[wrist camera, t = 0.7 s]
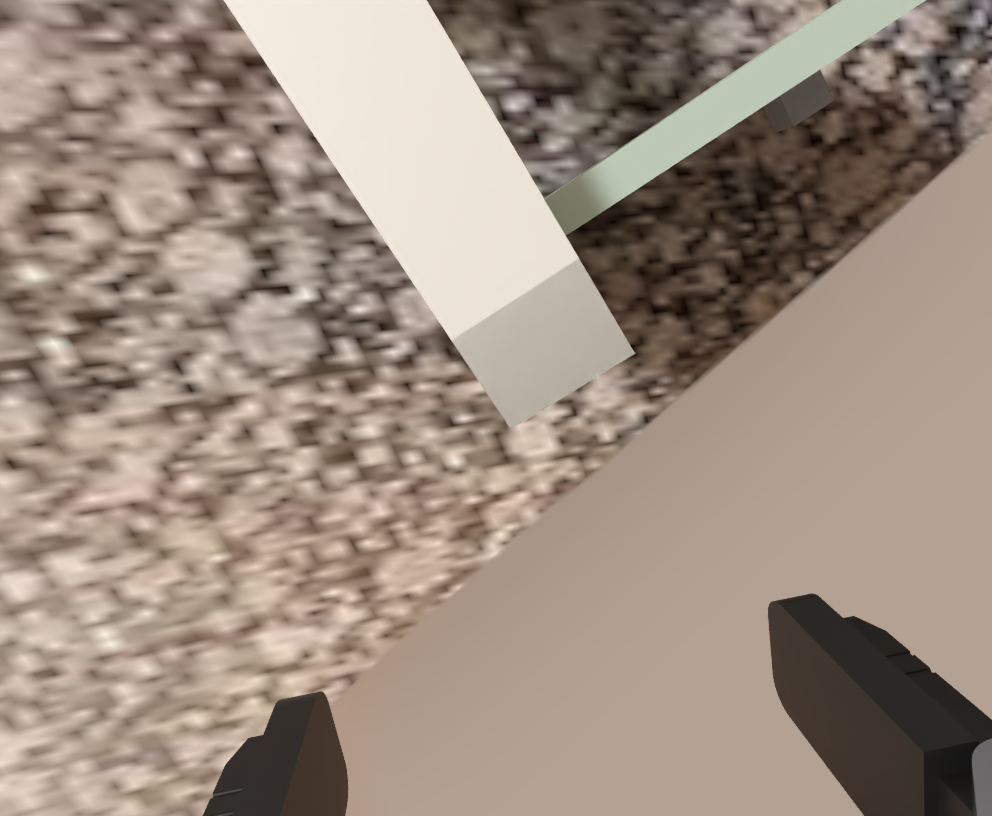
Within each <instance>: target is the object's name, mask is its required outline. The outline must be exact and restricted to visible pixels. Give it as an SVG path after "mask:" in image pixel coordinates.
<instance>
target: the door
mask: <svg viewBox="0 0 992 816" xmlns="http://www.w3.org/2000/svg"><path fill="white" fill-rule="evenodd" d="M924 1H925V0H841V1H840V2H838V3H837V4H835V5H834V6H832V7H831V8H829V9H828V10H826V11H825V12H823V13H822V14H820V15H819V16H817V17H816V18H814V19H813V20H811V21H810V22H808V23H807V24H805V25H804V26H802V27H801V28H799V29H798V30H796V31H794V32H793V33H791V34H790V35H788V36H787V37H785V38H784V39H782V40H781V41H779V42H778V43H776V44H775V45H773V46H772V47H770V48H769V49H767V50H766V51H764V52H763V53H761V54H760V55H758V56H757V57H755V58H754V59H752V60H751V61H749V62H748V63H746V64H745V65H743V66H742V67H740V68H739V69H737V70H736V71H734V72H733V73H731V74H730V75H728V76H727V77H725V78H724V79H722V80H721V81H719V82H718V83H716V84H715V85H713V86H712V87H710V88H709V89H707V90H706V91H704V92H703V93H701V94H700V95H698V96H697V97H695V98H694V99H692V100H691V101H689V102H688V103H686V104H685V105H683V106H682V107H680V108H679V109H677V110H676V111H674V112H673V113H671V114H670V115H668V116H667V117H665V118H664V119H662V120H661V121H659V122H658V123H656V124H655V125H653V126H652V127H650V128H649V129H647V130H646V131H644V132H643V133H642V134H640V135H639V136H637V137H636V138H634V139H633V140H631V141H630V142H628V143H627V144H625V145H624V146H622V147H621V148H619V149H618V150H616V151H615V152H613V153H612V154H610V155H609V156H607V157H606V158H604V159H603V160H601V161H600V162H598V163H597V164H595V165H594V166H592V167H591V168H589V169H588V170H586V171H585V172H583V173H582V174H580V175H579V176H577V177H576V178H574V179H573V180H571V181H570V182H568V183H567V184H565V185H564V186H562V187H561V188H559V189H558V190H556V191H555V192H553V193H552V194H550V195H549V196H547V197H546V198H544V200H545V202H546V203H547V205H548V207H549V208H550V210H551V212H552V213H553V215H554V217H555V219H556V220H557V222H558V224H559V225H560V227H561V229H562V230H563V232H564V234H565V235H568V234H569V233H571V232H572V231H574V230H575V229H577V228H578V227H580V226H582V225H583V224H585V223H586V222H588V221H589V220H591V219H592V218H594V217H595V216H597V215H598V214H600V213H601V212H603V211H604V210H606V209H608V208H609V207H611V206H612V205H614V204H615V203H617V202H618V201H620V200H621V199H623V198H624V197H626V196H627V195H629V194H630V193H632V192H634V191H635V190H637V189H638V188H640V187H641V186H643V185H644V184H646V183H647V182H649V181H650V180H652V179H653V178H655V177H656V176H658V175H659V174H661V173H663V172H664V171H666V170H667V169H669V168H670V167H672V166H673V165H675V164H676V163H678V162H679V161H681V160H682V159H684V158H685V157H687V156H689V155H690V154H692V153H693V152H695V151H696V150H698V149H699V148H701V147H702V146H704V145H705V144H707V143H708V142H710V141H711V140H713V139H715V138H716V137H718V136H719V135H721V134H722V133H724V132H725V131H727V130H728V129H730V128H731V127H733V126H734V125H736V124H737V123H739V122H741V121H742V120H744V119H745V118H747V117H748V116H750V115H751V114H753V113H754V112H756V111H757V110H759V109H760V108H762V107H763V109H764V111H765V113H766V115H767V117H768V119H769V121H770V124H771V126H772V128H773V130H774V132H775V133H776V132H779V131H782V130H785V129H788V128H791V127H794V126H795V125H797V124H799V123H800V122H802V121H803V120H805V119H806V118H808V117H809V116H811V115H813V114H814V113H816V112H817V111H819V110H820V109H822V108H823V107H825V106H827V105H828V104H830V103H831V102H833V101H834V100H833V98H832V95H831V93H830V91H829V89H828V86H827V84H826V82H825V80H824V77H823V75H822V73H821V71H820V69H822V68H823V67H825V66H826V65H828V64H829V63H831V62H832V61H834V60H835V59H837V58H838V57H840V56H841V55H843V54H844V53H846V52H848V51H849V50H851V49H852V48H854V47H855V46H857V45H858V44H860V43H861V42H863V41H864V40H866V39H867V38H869V37H870V36H872V35H874V34H875V33H877V32H878V31H880V30H881V29H883V28H884V27H886V26H887V25H889V24H890V23H892V22H893V21H895V20H896V19H898V18H899V17H901V16H903V15H904V14H906V13H907V12H909V11H910V10H912V9H913V8H915V7H916V6H918V5H919V4H921V3H922V2H924Z"/></svg>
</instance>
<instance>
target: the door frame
mask: <svg viewBox="0 0 992 816" xmlns="http://www.w3.org/2000/svg"><path fill="white" fill-rule="evenodd" d="M224 1H225V3H226V4H227V6H228V7H229V9H230V10H231V12H232V13H233V15H234V16H235V18H236V19H237V21H238V22H239V24H240V25H241V27H242V28H243V30H244V31H245V33H246V34H247V36H248V37H249V39H250V40H251V42H252V43H253V45H254V46H255V48H256V49H257V51H258V52H259V54H260V55H261V57H262V58H263V60H264V61H265V63H266V64H267V66H268V67H269V69H270V70H271V72H272V73H273V75H274V76H275V77H276V79H277V80H278V82H279V83H280V85H281V86H282V88H283V89H284V91H285V92H286V94H287V95H288V97H289V98H290V100H291V101H292V103H293V104H294V106H295V107H296V109H297V110H298V112H299V113H300V115H301V116H302V118H303V119H304V121H305V122H306V124H307V125H308V127H309V128H310V130H311V131H312V133H313V134H314V136H315V137H316V139H317V140H318V142H319V143H320V145H321V146H322V148H323V149H324V151H325V152H326V154H327V155H328V157H329V158H330V160H331V161H332V163H333V164H334V166H335V167H336V169H337V170H338V172H339V173H340V175H341V176H342V178H343V179H344V181H345V182H346V184H347V185H348V187H349V188H350V190H351V191H352V193H353V194H354V195H355V197H356V198H357V200H358V201H359V203H360V204H361V206H362V207H363V209H364V210H365V212H366V213H367V215H368V216H369V218H370V219H371V221H372V222H373V224H374V225H375V227H376V228H377V230H378V231H379V233H380V234H381V236H382V237H383V239H384V240H385V242H386V243H387V245H388V246H389V248H390V249H391V251H392V252H393V254H394V255H395V257H396V258H397V260H398V261H399V263H400V264H401V266H402V267H403V269H404V270H405V272H406V273H407V275H408V276H409V278H410V279H411V281H412V282H413V284H414V285H415V287H416V288H417V290H418V291H419V293H420V294H421V296H422V297H423V299H424V300H425V302H426V303H427V305H428V306H429V308H430V309H431V311H432V312H433V313H434V315H435V316H436V318H437V319H438V321H439V322H440V324H441V325H442V327H443V328H444V330H445V331H446V333H447V334H448V336H449V337H450V339H451V340H452V342H453V343H454V345H455V346H456V348H457V349H458V351H459V352H460V354H461V355H462V357H463V358H464V360H465V361H466V363H467V364H468V366H469V367H470V369H471V370H472V372H473V373H474V375H475V376H476V378H477V379H478V381H479V382H480V384H481V385H482V387H483V388H484V390H485V391H486V393H487V394H488V396H489V397H490V399H491V400H492V402H493V403H494V405H495V406H496V408H497V409H498V411H499V412H500V414H501V415H502V417H503V418H504V420H505V421H506V423H507V424H508V426H509V427H510V429H512V428H514V427H515V426H517V425H519V424H520V423H522V422H524V421H525V420H527V419H528V418H530V417H532V416H533V415H535V414H537V413H538V412H540V411H542V410H543V409H545V408H547V407H548V406H550V405H552V404H553V403H555V402H556V401H558V400H560V399H561V398H563V397H565V396H566V395H568V394H570V393H571V392H573V391H575V390H576V389H578V388H579V387H581V386H583V385H584V384H586V383H588V382H589V381H591V380H593V379H594V378H596V377H598V376H599V375H601V374H603V373H604V372H606V371H607V370H609V369H611V368H612V367H614V366H616V365H617V364H619V363H621V362H622V361H624V360H626V359H627V358H629V357H630V356H632V355H634V354H635V352H634V351H633V349H632V347H631V346H630V344H629V342H628V341H627V339H626V337H625V335H624V334H623V332H622V330H621V329H620V327H619V325H618V324H617V322H616V320H615V319H614V317H613V315H612V313H611V312H610V310H609V308H608V307H607V305H606V303H605V302H604V300H603V298H602V297H601V295H600V293H599V291H598V290H597V288H596V286H595V285H594V283H593V281H592V280H591V278H590V276H589V274H588V273H587V271H586V269H585V268H584V266H583V264H582V263H581V261H580V259H579V258H578V256H577V254H576V252H575V251H574V249H573V247H572V246H571V244H570V242H569V241H568V239H567V237H566V235H565V234H564V232H563V230H562V229H561V227H560V225H559V224H558V222H557V220H556V219H555V217H554V215H553V213H552V212H551V210H550V208H549V207H548V205H547V203H546V202H545V200H544V198H543V196H542V195H541V193H540V191H539V190H538V188H537V186H536V185H535V183H534V181H533V180H532V178H531V176H530V174H529V173H528V171H527V169H526V168H525V166H524V164H523V163H522V161H521V159H520V158H519V156H518V154H517V152H516V151H515V149H514V147H513V146H512V144H511V142H510V141H509V139H508V137H507V135H506V134H505V132H504V130H503V129H502V127H501V125H500V124H499V122H498V120H497V119H496V117H495V115H494V113H493V112H492V110H491V108H490V107H489V105H488V103H487V102H486V100H485V98H484V96H483V95H482V93H481V91H480V90H479V88H478V86H477V85H476V83H475V81H474V80H473V78H472V76H471V74H470V73H469V71H468V69H467V68H466V66H465V64H464V63H463V61H462V59H461V57H460V56H459V54H458V52H457V51H456V49H455V47H454V46H453V44H452V42H451V41H450V39H449V37H448V35H447V34H446V32H445V30H444V29H443V27H442V25H441V24H440V22H439V20H438V19H437V17H436V15H435V13H434V12H433V10H432V8H431V7H430V5H429V3H428V2H427V0H224Z"/></svg>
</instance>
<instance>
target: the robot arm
mask: <svg viewBox="0 0 992 816" xmlns="http://www.w3.org/2000/svg"><path fill="white" fill-rule="evenodd" d="M768 619H769V631H770V644H771V656H772V669H773V678H774V683H775V687H776V690H777V693H778V696H779V698H780V701H781V703H782V705H783V707H784V709H785V710H786V712H787V714H788V715H789V717H790V718H791V719H792V721H793V722H794V723H795V724H796V726H797V727H798V728H799V730H800V731H801V732H802V734H803V735H804V736H805V738H806V739H807V740H808V742H809V743H810V744H811V746H812V747H813V748H814V750H815V751H816V752H817V754H818V755H819V756H820V758H821V759H822V760H823V761H824V763H825V764H826V766H827V767H828V768H829V769H830V771H831V772H832V774H833V775H834V776H835V778H836V779H837V780H838V782H839V783H840V784H841V785H842V787H843V788H844V789H845V791H846V792H847V794H848V795H849V796H850V798H851V799H852V800H853V802H854V803H855V804H856V805H857V807H858V808H859V809H860V810H861V812H862V813H863V815H864V816H992V720H991V719H990V718H989V717H988V716H987V715H985V714H984V713H983V712H982V711H981V710H979V709H978V708H977V707H976V706H975V705H973V704H972V703H971V702H970V701H969V700H967V699H966V698H965V697H964V696H963V695H962V694H960V693H959V692H958V691H957V690H956V689H954V688H953V687H952V686H951V685H950V684H948V683H947V682H946V681H945V680H944V679H943V678H941V677H940V676H939V675H938V674H937V673H932V672H931V670H930V668H929V667H928V666H927V665H926V664H925V663H923V662H922V661H921V660H920V659H919V658H917V657H916V656H915V655H913V656H912V655H911V654H910V651H909V650H908V649H907V648H906V647H904V646H903V645H902V644H901V643H899V642H898V641H897V640H896V639H895V638H893V637H892V636H891V635H890V634H889V633H888V632H887V631H885V630H883V629H881V628H878V627H876V626H874V625H872V624H870V623H868V622H866V621H863V620H861V619H859V618H857V617H855V616H852V617H847V618H842V617H841V616H840V615H839V614H838V613H837V612H836V611H834V610H833V609H832V608H831V607H830V606H829V605H828V604H827V603H826V602H825V601H823V600H822V599H821V598H820V597H819V596H818V595H815V594H807V595H802V596H797V597H793V598H787V599H783V600H778V601H773V602H771V603H770V604H769V607H768ZM347 800H348V777H347V769H346V764H345V760H344V756H343V753H342V749H341V745H340V742H339V739H338V735H337V731H336V728H335V724H334V721H333V717H332V713H331V710H330V706H329V703H328V700H327V697H326V695H325V694H324V693H323V692H316V693H311V694H306V695H301V696H297V697H292V698H287V699H282V700H279V701H278V702H277V703H276V705H275V707H274V709H273V712H272V714H271V717H270V719H269V722H268V724H267V727H266V730H265V732H264V735H261V736H256V737H251V738H248V739H247V740H246V742H245V743H244V744H243V745H242V746H241V747H240V749H239V750H238V751H237V752H236V753H235V754H234V756H233V757H232V758H231V759H230V760H229V761H228V762H227V764H226V765H225V767H224V769H223V772H222V774H221V776H220V778H219V781H218V783H217V785H216V787H215V790H214V792H213V798H212V799H210V801H209V803H208V805H207V808H206V810H205V812H204V814H203V816H345V813H346V808H347Z"/></svg>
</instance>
